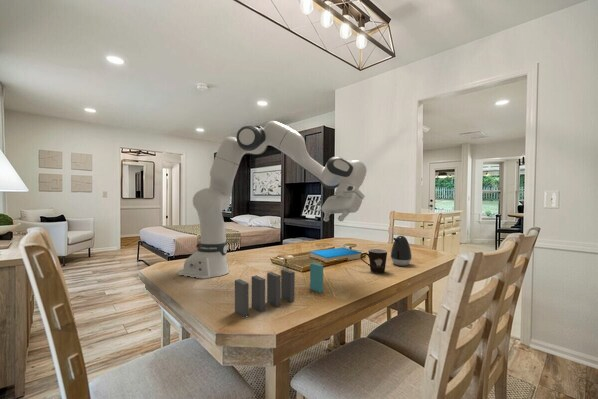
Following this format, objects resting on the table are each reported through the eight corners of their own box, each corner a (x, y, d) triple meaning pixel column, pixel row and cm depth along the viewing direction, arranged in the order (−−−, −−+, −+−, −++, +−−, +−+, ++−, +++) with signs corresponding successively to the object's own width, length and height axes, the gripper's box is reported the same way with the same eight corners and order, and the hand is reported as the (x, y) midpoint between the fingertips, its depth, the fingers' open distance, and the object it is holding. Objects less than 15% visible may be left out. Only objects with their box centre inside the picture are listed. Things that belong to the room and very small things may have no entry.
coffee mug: (389, 271, 130) (389, 250, 130) (383, 275, 123) (384, 253, 123) (365, 267, 137) (366, 247, 136) (359, 271, 130) (359, 250, 129)
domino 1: (243, 318, 80) (243, 284, 80) (234, 312, 84) (234, 280, 84) (248, 316, 81) (248, 283, 81) (240, 310, 85) (240, 279, 85)
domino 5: (319, 292, 101) (319, 266, 101) (310, 289, 105) (310, 263, 105) (323, 291, 102) (323, 265, 102) (313, 287, 106) (313, 262, 106)
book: (362, 252, 156) (326, 256, 143) (362, 259, 156) (326, 264, 143) (342, 247, 170) (309, 250, 158) (342, 254, 170) (309, 258, 158)
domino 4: (290, 302, 92) (290, 273, 92) (281, 297, 96) (281, 269, 96) (294, 301, 93) (294, 272, 93) (285, 296, 97) (285, 268, 97)
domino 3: (276, 307, 88) (276, 276, 88) (267, 302, 92) (267, 272, 92) (280, 305, 89) (280, 275, 89) (271, 300, 93) (271, 271, 93)
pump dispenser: (386, 263, 145) (386, 234, 144) (400, 261, 149) (401, 233, 149) (400, 268, 135) (401, 237, 135) (415, 265, 140) (416, 236, 139)
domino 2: (260, 312, 84) (260, 280, 84) (251, 307, 88) (251, 276, 88) (265, 310, 85) (265, 279, 85) (256, 305, 89) (256, 275, 89)
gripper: (326, 191, 124) (312, 216, 119) (358, 186, 107) (344, 215, 102) (335, 199, 127) (322, 224, 121) (367, 195, 109) (354, 224, 104)
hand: (332, 220), depth 111 cm, fingers open, 8 cm apart
